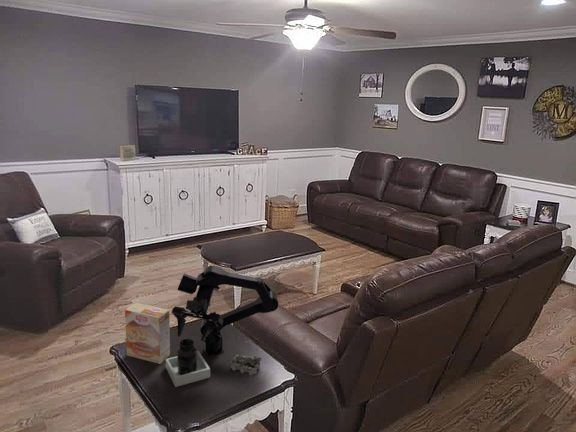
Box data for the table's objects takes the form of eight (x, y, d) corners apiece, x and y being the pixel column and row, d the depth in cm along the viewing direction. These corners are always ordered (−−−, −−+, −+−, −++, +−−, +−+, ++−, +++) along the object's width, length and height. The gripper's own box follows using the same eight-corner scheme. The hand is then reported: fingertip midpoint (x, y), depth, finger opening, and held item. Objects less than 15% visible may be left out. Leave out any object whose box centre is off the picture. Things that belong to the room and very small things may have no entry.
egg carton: (262, 367, 165) (263, 357, 164) (253, 377, 158) (253, 368, 157) (237, 359, 169) (238, 350, 168) (227, 369, 162) (228, 360, 161)
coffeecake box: (126, 355, 166) (124, 309, 161) (137, 346, 173) (136, 301, 168) (160, 364, 162) (158, 317, 157) (170, 354, 169) (169, 309, 164)
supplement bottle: (179, 365, 161) (178, 336, 158) (197, 365, 161) (198, 337, 158) (175, 377, 154) (175, 347, 151) (195, 377, 155) (195, 347, 152)
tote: (198, 358, 167) (198, 350, 166) (210, 377, 156) (210, 368, 156) (165, 367, 161) (165, 359, 160) (175, 387, 150) (175, 378, 149)
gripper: (173, 286, 160) (158, 327, 153) (220, 294, 156) (207, 337, 148) (183, 297, 169) (169, 336, 162) (228, 304, 165) (216, 345, 158)
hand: (190, 338), depth 157 cm, fingers open, 9 cm apart
